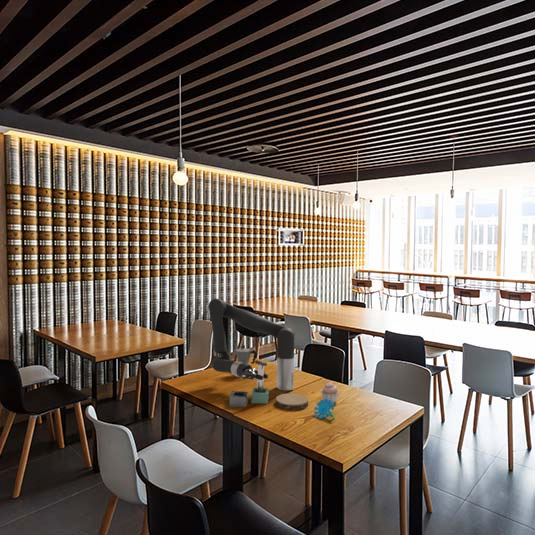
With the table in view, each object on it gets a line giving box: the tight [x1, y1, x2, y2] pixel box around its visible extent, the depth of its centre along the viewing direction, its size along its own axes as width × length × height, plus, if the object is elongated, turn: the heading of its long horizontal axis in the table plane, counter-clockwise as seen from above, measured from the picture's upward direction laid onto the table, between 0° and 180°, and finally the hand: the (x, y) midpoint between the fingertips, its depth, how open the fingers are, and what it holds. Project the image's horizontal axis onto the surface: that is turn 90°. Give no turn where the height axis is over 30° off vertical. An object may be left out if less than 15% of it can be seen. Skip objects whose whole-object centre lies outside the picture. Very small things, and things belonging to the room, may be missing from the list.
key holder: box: [251, 387, 270, 405], centre depth 207 cm, size 8×8×5 cm
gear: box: [313, 398, 336, 420], centre depth 189 cm, size 11×6×10 cm
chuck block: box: [228, 390, 249, 408], centre depth 201 cm, size 8×8×5 cm
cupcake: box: [320, 381, 340, 404], centre depth 208 cm, size 9×9×10 cm
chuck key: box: [254, 359, 268, 393], centre depth 207 cm, size 8×3×18 cm, turn 46°
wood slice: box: [275, 393, 309, 411], centre depth 203 cm, size 16×16×3 cm
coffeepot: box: [233, 344, 258, 365], centre depth 251 cm, size 15×9×18 cm, turn 70°
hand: (264, 377), depth 205 cm, fingers closed on chuck key, 3 cm apart
